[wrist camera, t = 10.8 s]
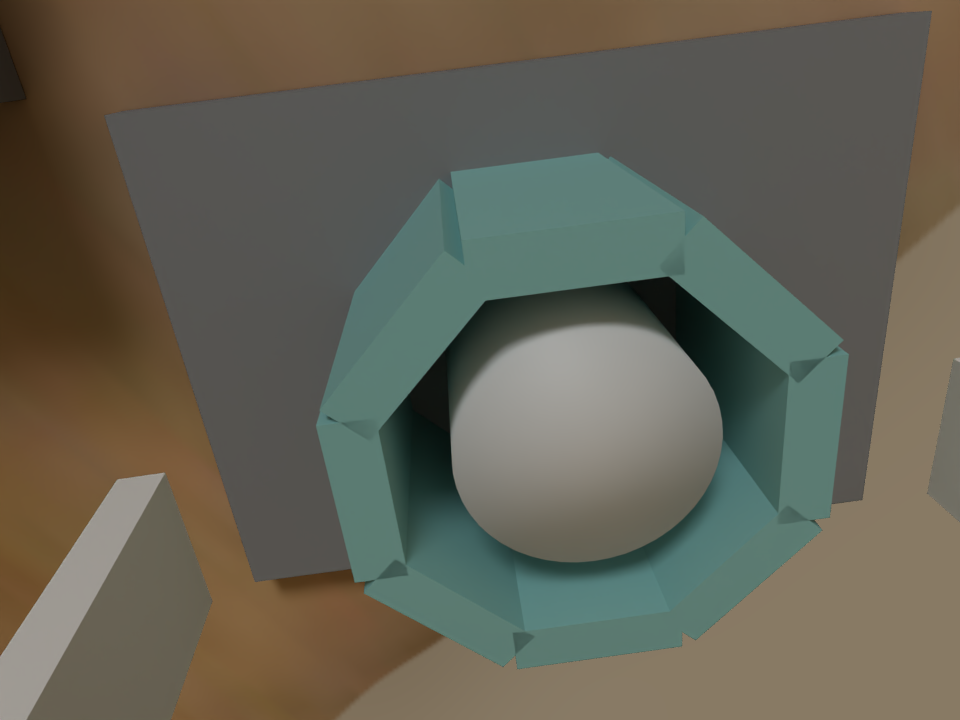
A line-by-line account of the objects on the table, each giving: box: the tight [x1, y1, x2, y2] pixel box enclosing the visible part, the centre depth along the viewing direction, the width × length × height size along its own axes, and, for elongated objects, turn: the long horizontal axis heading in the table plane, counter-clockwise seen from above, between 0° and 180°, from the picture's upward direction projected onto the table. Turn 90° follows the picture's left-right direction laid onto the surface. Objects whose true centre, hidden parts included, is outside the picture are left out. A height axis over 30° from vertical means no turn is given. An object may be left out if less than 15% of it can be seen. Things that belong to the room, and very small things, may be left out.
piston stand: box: [104, 11, 932, 582], centre depth 16 cm, size 18×13×6 cm
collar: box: [316, 153, 849, 669], centre depth 15 cm, size 9×9×6 cm
